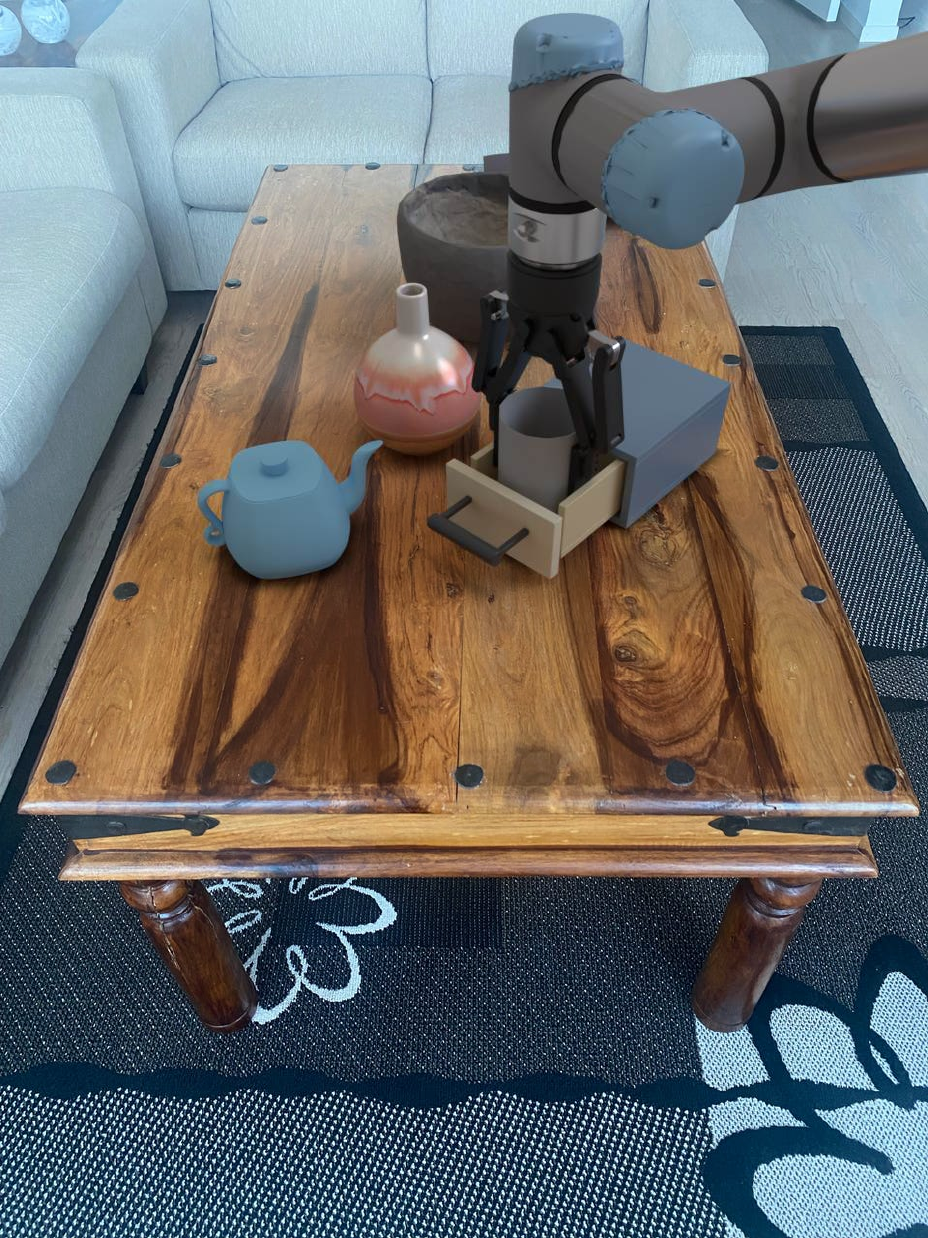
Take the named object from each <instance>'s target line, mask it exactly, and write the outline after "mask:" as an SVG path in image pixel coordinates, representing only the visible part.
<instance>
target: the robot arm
mask: <svg viewBox="0 0 928 1238" xmlns="http://www.w3.org/2000/svg"><path fill="white" fill-rule="evenodd" d="M512 46H513V47H512V63H511V77H510V79H511V80H510V82H509V84H508V86H507V87H508V90H507V91H508V92H509V105H508V106H509V107H508V109H509V110H508V119H509V120H508V128H509V129H508V153H509V205H508V245H509V247H510V250H509V251H508V253H507V273H506V289H505V288H503V287H500V288H499V289H497V290H495V291H493V292H491V293H490V294H488V295H486V296H484V297H482V298H481V299H480V310H481V318H482V325H481V330H480V336H479V342H478V343H477V348H476V353H475V360H474V364H475V365H474V371H473V377H472V382H471V386H472V389H473V390H474V391H475V392H477V393H479V392H481V394H482V395H484V396H485V400H486V403H487V404H488V428H489V431H492V432H493V441H494V446H493V465H494V466H496V467H497V468H498V451H499V406H500V404H501V403H502V402H503V401H504V400H505V398H506V397H507V396H508V395H510V394H512V393H514V392H516V391H517V389H516V386H517V384H518V383H519V381H520V379H521V377H522V376H523V373H524V371H525V370H526V368H527V366H528V364H529V363H530V361H531V359H532V357H533V358H540V359H542V360H543V361H545V362H546V363H547V364H549V365H551V367H552V370H553V374H554V377H556V378H557V379H558V380H560V381H561V383H562V386H563V390H564V393H565V397H566V400H567V404H568V407H569V411H570V414H571V418H572V421H573V424H574V428H575V431H576V435H577V438H578V443H577V444H576V445H574V446H573V447H572V448H571V459H570V471H569V482H568V494H567V498H568V497H569V496H570V495H571V494H573V493H574V492H575V491H576V490H578V489H579V488H580V487H582V486H583V485H584V484H585V483H587V482H588V481H589V480H591V479H592V477H593V476H595V475H596V474H597V473H598V472H599V470H600V467H601V465H600V464H601V458H602V454H603V455H605V454H607V453H609V452H610V451H611V450H613V449H614V448H615V447H616V446H618V445H619V444H620V443H622V442H623V441H624V439H625V434H624V415H623V395H622V375H621V361H622V358H623V354H624V351H625V347H626V342H625V339H626V338H625V337H623V336H622V335H616V336H614V337H613V338H611V337H609V336H607V335H605V334H604V333H602V332H601V331H599V330H598V326H597V325H598V324H597V323H596V322H597V321H596V320H595V315H594V314H595V313H594V311H595V307H596V305H597V301H598V298H599V295H600V287H601V276H602V265H603V255H602V252H601V251H602V250H603V249H604V246H605V241H606V239H605V238H606V227H607V218H610V219H611V220H612V221H613V223H615V224H616V225H617V226H619V227H620V228H621V229H622V230H623V231H624V232H628V233H629V234H631V235H632V236H633V237H634V236H638V237H640V238H641V239H643V240H646V241H647V242H649V243H651V244H653V245H654V246H657V247H658V248H661V249H665V250H670V251H677V250H678V251H679V250H685V249H689V248H692V247H695V246H696V245H698V244H700V243H702V242H703V241H704V240H705V237H706V236H708V235H709V234H710V233H711V232H713V231H717V230H719V228H721V227H722V225H724V223H725V222H726V220H727V219H728V218H729V216H730V214H731V213H732V212H733V210H734V208H735V207H736V206H737V205H740V204H745V203H748V202H752V201H754V200H757V199H760V198H761V199H762V198H765V197H770V196H773V195H778V194H782V193H787V192H792V191H796V190H802V189H808V188H814V187H825V186H833V185H841V184H848V183H853V182H859V181H868V180H876V179H877V180H878V179H885V178H895V177H903V176H904V177H905V176H913V175H922V174H928V30H924V31H921V32H918V33H914V34H910V35H906V36H902V37H899V38H895V39H891V40H888V41H884V42H880V43H877V44H873V45H869V46H866V47H862V48H859V49H856V50H852V51H849V52H843V53H838V54H835V55H830V56H827V57H823V58H820V59H815V60H812V61H809V62H804V63H801V64H797V65H792V66H788V67H784V68H779V69H775V70H770V71H767V72H766V71H765V72H763V73H758V74H757V73H756V74H754V75H749V76H740V77H736V78H731V79H725V80H721V81H715V82H710V83H706V84H700V85H696V86H691V87H687V88H681V89H677V90H671V91H664V92H660V91H654V90H653V89H652V90H651V89H649V88H648V87H646V86H643V85H642V84H640V83H638V82H635V81H633V80H631V79H630V78H628V77H627V76H625V75H623V74H622V71H623V68H624V66H625V62H626V61H625V58H624V36H623V33H622V32H621V29H620V26H619V25H618V24H617V23H616V22H615V21H613V20H612V19H609V18H607V17H604V16H600V15H596V14H591V13H580V12H564V13H563V12H560V13H559V12H558V13H552V14H547V15H546V14H545V15H540V16H537V17H534V18H532V19H529V20H528V21H526V22H525V23H523V24H521V26H520V27H519V28H518V30H517V31H516V33H515V35H514V37H513V45H512ZM607 216H609V217H607ZM510 319H511V321H512V323H513V326H514V328H515V335H514V337H513V339H512V341H510V343H509V344H508V346H507V349H506V352H507V354H506V356H505V357H504V359H503V355H504V349H505V344H506V342H505V340H506V335H507V330H508V325H509V320H510ZM624 338H625V339H624ZM588 347H589V349H590V351H591V352H589V349H588ZM590 353H591V356H590V355H589V354H590ZM571 360H572V361H571ZM590 363H593V366H592V378H591V375H590V371H589V366H590Z"/></svg>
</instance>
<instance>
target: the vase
mask: <svg viewBox="0 0 928 1238" xmlns="http://www.w3.org/2000/svg"><path fill="white" fill-rule="evenodd" d="M395 302H396V303H395V304H396V305H395V306H396V307H395V308H396V322H397V323H396V327H394V328H392V329H391V330H389V331H387V332H385V333H384V334H383V335H381V336H380V337H379V338H377V339H376V340H375V341H374V342H373V343H372V344H371V345H370V346H369V348H367V350H366V351H365V353H364V354H363V356H362V357H361V360H360V362H359V363H358V366H357V368H356V372H355V375H354V380H353V381H354V382H353V392H352V393H353V394H352V395H353V404H354V409H355V412H356V416H357V418H358V420H359V422H360V423H361V426H362V427H363V428H364V429H365V430H366V432H367V433H368V434H369V435H370V436H371V437H372V438H373V439H374V440H375V441H378V440H381V441H383V444H382V445H383V446H385V447H387V448H389V449H391V450H394V451H395V452H399V453H401V454H404V455H408V456H416V457H421V456H430V455H433V454H437V453H438V452H441V451H443V450H444V449H446V448H448V447H450V446H452V445H453V444H455V443H457V442H458V441H459V440H460V439H462V438H463V437H464V436H465V435H466V434H467V433H468V431H469V430H470V429H471V427H472V426H473V425H474V423H475V421H476V419H477V417H478V415H479V413H480V407H481V402H482V392H479V393H477V392H475V391H474V390H473V389H472V386H471V382H472V377H473V371H474V365H475V361H474V360H473V358H472V356H471V355H470V354H469V352H468V351H467V349H466V348H465V347H464V346H463V345H462V344H461V343H460V342H459V341H458V340H457V339H456V338H455V337H452V336H450V335H448V334H447V333H445V332H443V331H441V330H440V329H438V328H437V327H435V326H434V325H433V326H432V325H430V324H431V323H430V322H429V310H428V296H427V289H426V288H425V287H424V286H423V285H421V284H418V283H403V284H401V285H399V286H398V287H397V288H396V290H395Z"/></svg>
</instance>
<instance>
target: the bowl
mask: <svg viewBox="0 0 928 1238" xmlns="http://www.w3.org/2000/svg"><path fill="white" fill-rule="evenodd" d="M508 205H509V172H484V171H474V172H462V173H455V174H445V175H440V176H436V177H434V178H433V179H430V180H428V181H426V182H423V183H420V184H419V185H418V186H416V187H415V188H414V189H412V190H410V191H409V192H407V193H406V194H405V195H404V197H403V198H402V199H401V201H400V202H399V203H398V208H397V214H396V232H397V233H396V234H397V240H398V241H397V242H398V247H399V254H400V262H401V269H402V272H403V276H404V280H405V284H407V283H418V284H421V285H423V286H424V287H425V288H426V289H427V296H428V310H429V323H430V324H432V325H433V327H435V328H437V329H439V330H441V331H443V332H445V333H447V334H448V335H450V336H451V337H453V338H454V339H458V340H461V341H464V342H465V341H466V342H472V343H476V344H478V342H479V336H480V330H481V325H482V318H481V310H480V299H481V298H482V297H484V296H486V295H488V294H490V293H491V292H493V291H495V290H497V289H499V288H500V287H503V288H505V289H506V273H507V253H508V251H509V250H510V247H509V245H508ZM514 335H515V328H514V326H513V323H512V321H511V319H510V320H509V325H508V330H507V335H506V340H505V343H507V342H511V341H512V339H513V337H514Z"/></svg>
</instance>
